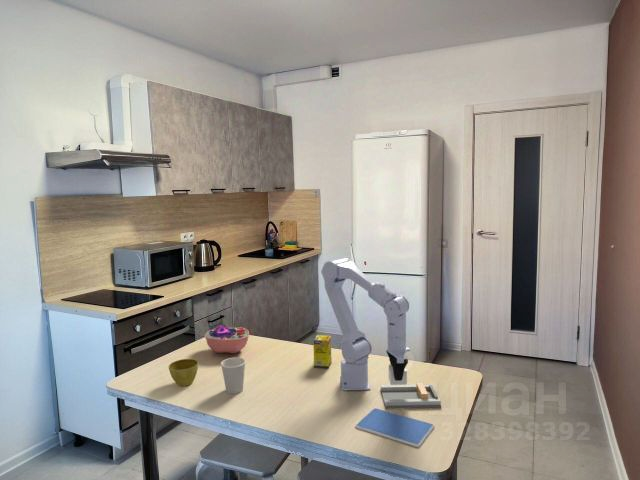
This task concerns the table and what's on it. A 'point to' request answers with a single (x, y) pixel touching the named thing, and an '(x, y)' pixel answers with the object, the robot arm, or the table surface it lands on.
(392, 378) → the block
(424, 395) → the block
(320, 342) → the supplement box
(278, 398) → the table surface
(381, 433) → the tablet computer
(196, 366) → the flower pot
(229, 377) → the dixie cup
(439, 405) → the rail mount
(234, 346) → the cell model
